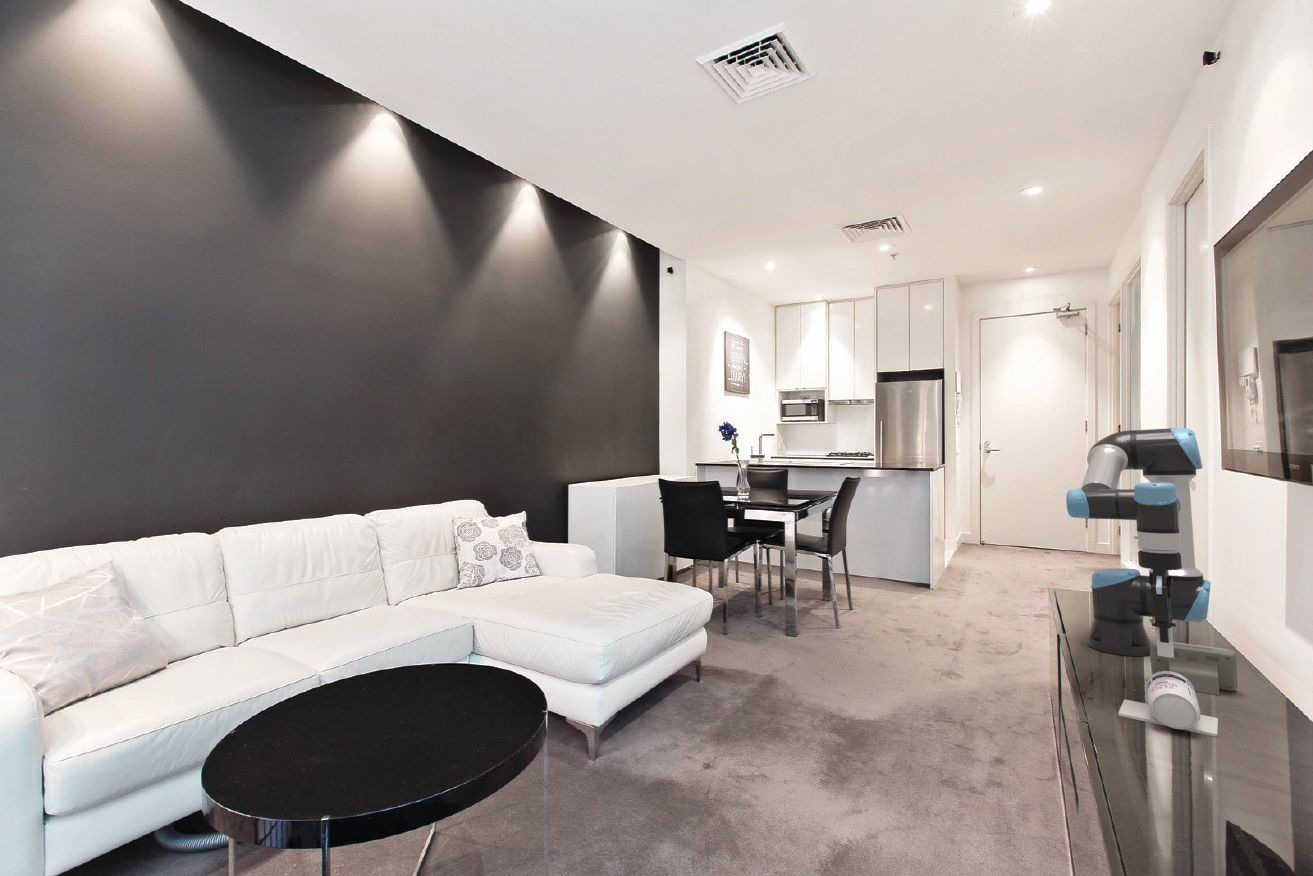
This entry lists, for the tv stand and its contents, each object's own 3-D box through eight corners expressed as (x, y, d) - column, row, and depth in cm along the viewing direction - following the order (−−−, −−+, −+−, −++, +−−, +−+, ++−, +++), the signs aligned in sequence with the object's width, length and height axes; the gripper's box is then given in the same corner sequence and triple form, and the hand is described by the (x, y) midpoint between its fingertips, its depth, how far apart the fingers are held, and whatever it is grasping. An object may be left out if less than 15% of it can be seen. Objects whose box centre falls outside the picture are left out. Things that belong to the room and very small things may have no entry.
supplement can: (1177, 715, 134) (1182, 740, 122) (1138, 687, 138) (1138, 708, 126) (1204, 690, 131) (1211, 713, 119) (1163, 662, 135) (1166, 682, 124)
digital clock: (1242, 691, 144) (1238, 646, 144) (1235, 701, 138) (1231, 655, 138) (1156, 674, 156) (1153, 633, 157) (1146, 682, 151) (1144, 640, 151)
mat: (1124, 702, 139) (1124, 699, 139) (1218, 721, 128) (1218, 718, 128) (1118, 715, 132) (1118, 713, 132) (1217, 737, 121) (1217, 734, 121)
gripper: (1140, 546, 143) (1147, 646, 142) (1134, 552, 133) (1141, 659, 132) (1182, 548, 138) (1189, 652, 136) (1178, 555, 128) (1186, 667, 127)
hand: (1165, 655), depth 134 cm, fingers closed
